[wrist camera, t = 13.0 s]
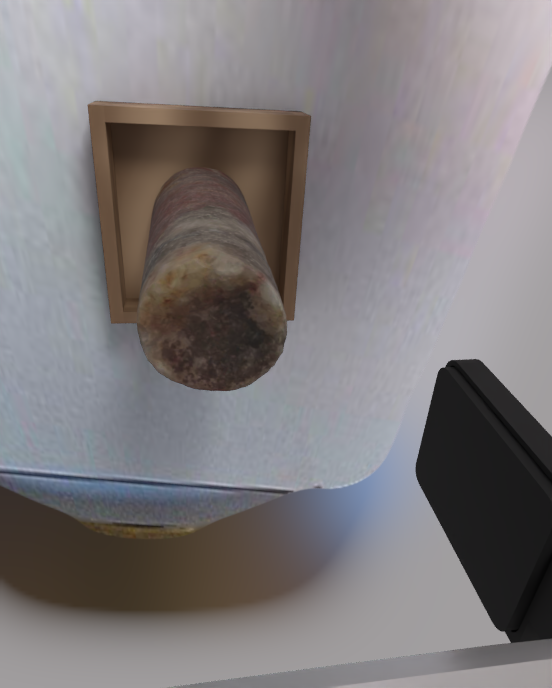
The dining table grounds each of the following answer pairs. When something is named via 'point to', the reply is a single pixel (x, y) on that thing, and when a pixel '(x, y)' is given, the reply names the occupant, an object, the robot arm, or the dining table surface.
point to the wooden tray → (186, 152)
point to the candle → (208, 287)
